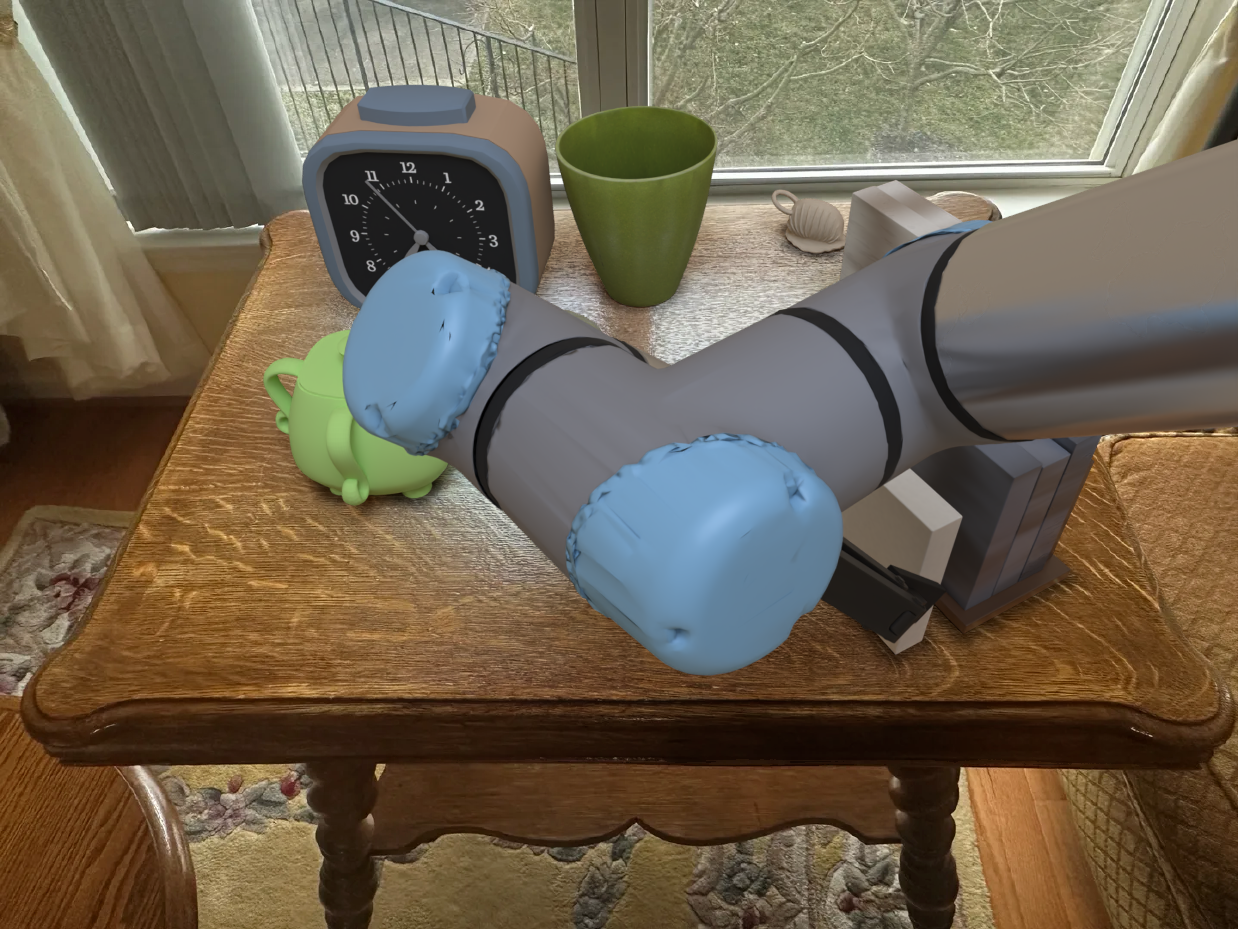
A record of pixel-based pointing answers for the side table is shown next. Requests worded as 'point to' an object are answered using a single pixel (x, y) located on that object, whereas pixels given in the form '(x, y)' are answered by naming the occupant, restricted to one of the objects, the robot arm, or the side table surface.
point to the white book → (905, 535)
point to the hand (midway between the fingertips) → (854, 529)
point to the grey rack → (1006, 520)
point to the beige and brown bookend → (887, 223)
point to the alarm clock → (429, 185)
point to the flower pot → (638, 195)
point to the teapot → (340, 431)
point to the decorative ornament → (812, 224)
